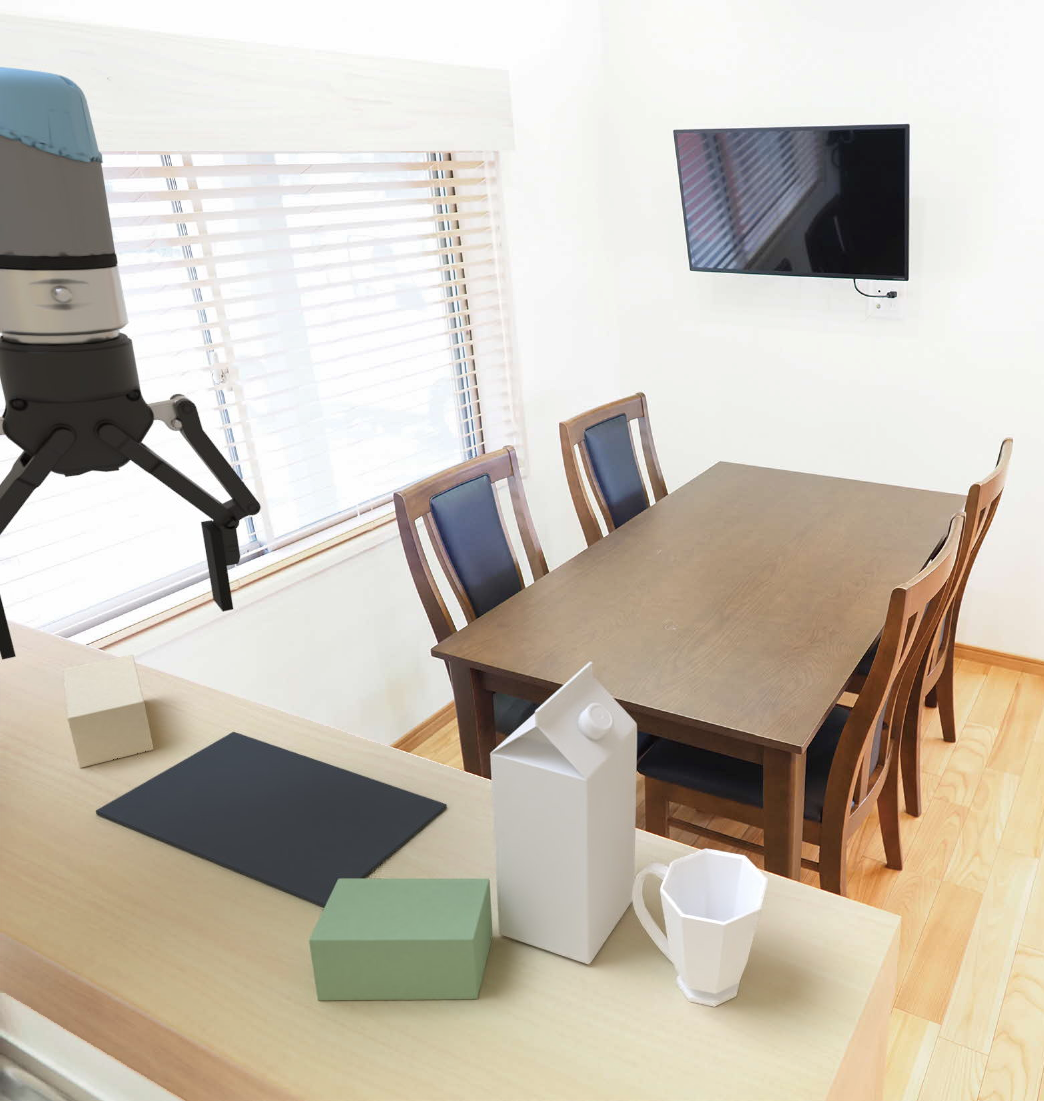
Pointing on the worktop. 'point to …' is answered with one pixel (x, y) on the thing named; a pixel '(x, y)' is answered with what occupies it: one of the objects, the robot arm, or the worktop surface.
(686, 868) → the cup
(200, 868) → the worktop surface
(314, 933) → the green block
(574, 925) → the milk carton
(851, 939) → the worktop surface
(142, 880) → the worktop surface
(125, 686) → the cream block
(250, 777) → the mat
